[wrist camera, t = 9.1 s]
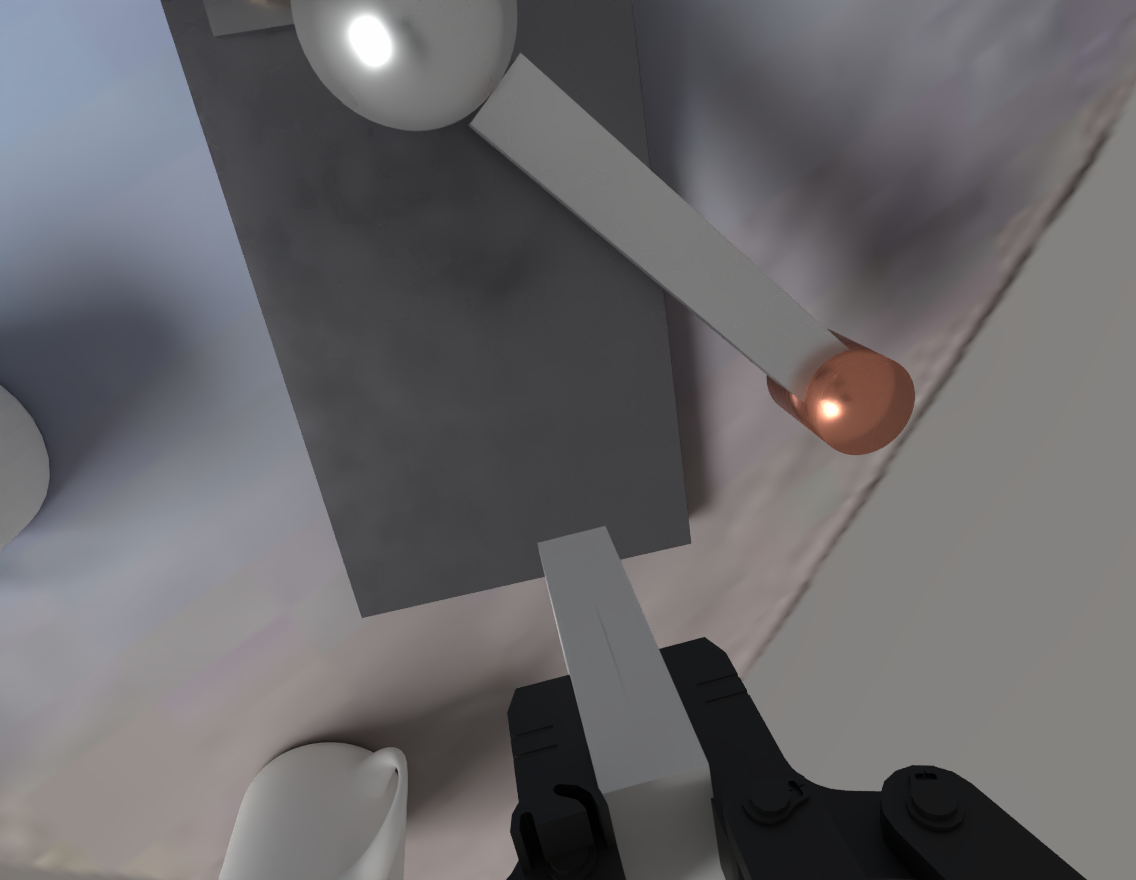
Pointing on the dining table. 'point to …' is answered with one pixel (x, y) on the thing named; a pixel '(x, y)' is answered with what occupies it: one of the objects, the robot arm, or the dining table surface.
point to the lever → (598, 193)
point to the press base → (445, 309)
